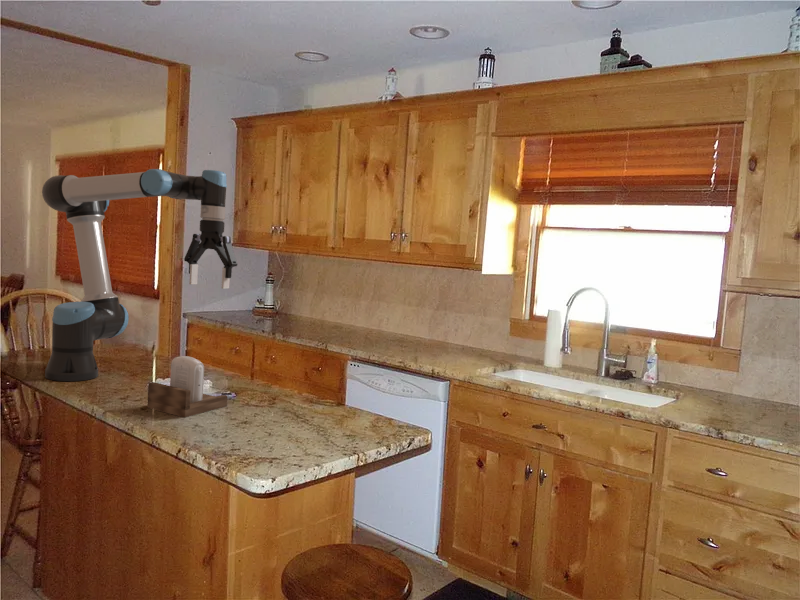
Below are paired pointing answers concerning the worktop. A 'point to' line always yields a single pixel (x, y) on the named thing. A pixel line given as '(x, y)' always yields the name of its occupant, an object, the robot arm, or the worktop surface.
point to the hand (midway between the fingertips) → (209, 286)
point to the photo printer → (188, 376)
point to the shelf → (180, 400)
